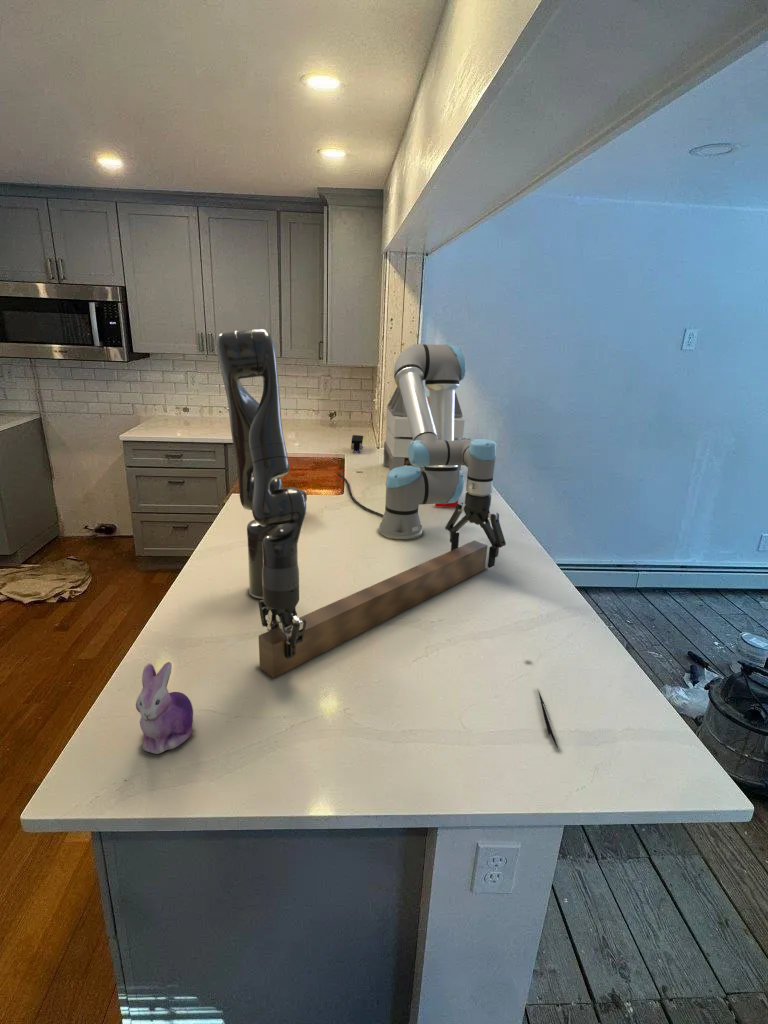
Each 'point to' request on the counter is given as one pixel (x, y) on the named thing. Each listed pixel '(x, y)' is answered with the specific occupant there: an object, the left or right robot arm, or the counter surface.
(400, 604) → the bar
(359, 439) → the figurine character
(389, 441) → the white slatted box
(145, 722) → the figurine
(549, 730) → the feather
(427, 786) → the counter surface
